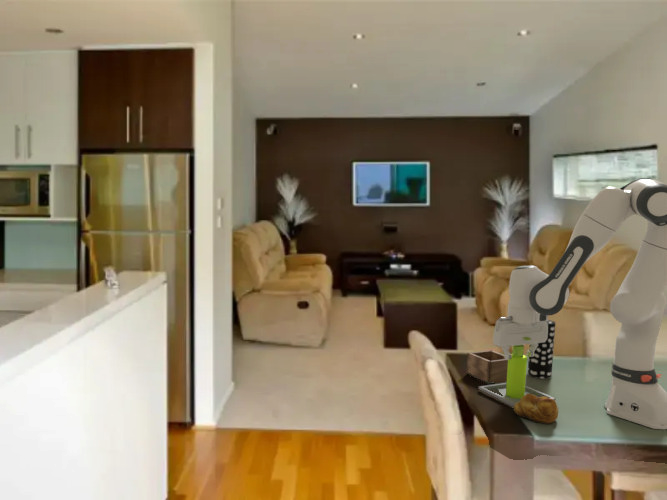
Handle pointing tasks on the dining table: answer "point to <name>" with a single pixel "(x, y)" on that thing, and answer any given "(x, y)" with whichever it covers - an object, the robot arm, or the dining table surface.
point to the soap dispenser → (517, 372)
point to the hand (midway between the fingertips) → (519, 357)
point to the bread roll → (537, 408)
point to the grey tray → (510, 400)
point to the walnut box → (488, 366)
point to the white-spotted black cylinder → (543, 356)
